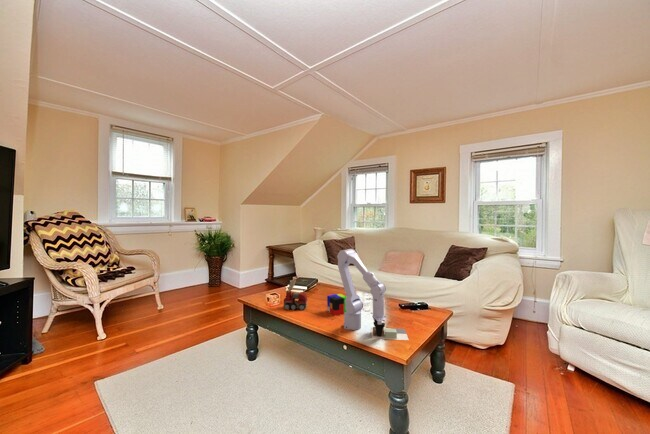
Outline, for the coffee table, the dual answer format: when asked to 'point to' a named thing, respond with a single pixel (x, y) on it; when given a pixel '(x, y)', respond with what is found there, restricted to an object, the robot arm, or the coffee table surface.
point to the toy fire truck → (290, 298)
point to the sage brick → (390, 333)
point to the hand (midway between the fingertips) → (378, 332)
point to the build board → (400, 336)
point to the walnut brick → (376, 333)
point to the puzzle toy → (336, 304)
